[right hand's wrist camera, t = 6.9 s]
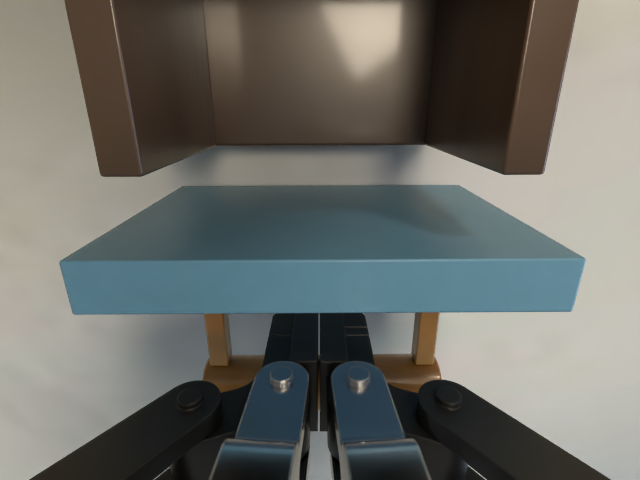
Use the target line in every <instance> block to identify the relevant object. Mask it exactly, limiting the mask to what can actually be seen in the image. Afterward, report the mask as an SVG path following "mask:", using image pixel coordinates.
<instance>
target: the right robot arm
mask: <svg viewBox="0 0 640 480" xmlns="http://www.w3.org/2000/svg"><path fill="white" fill-rule="evenodd" d="M310 431H318V313H276V314H275V315H274V316H273V319H272V324H271V328H270V333H269V337H268V342H267V347H266V351H265V356H264V361H263V365H262V368H261V369H260V370H259V371H258V372H257V374H256V376H255V378H254V380H253V381H251V382H250V383H249V384H247V385H245V386H243V387H240V388H237V389H234V390H229V391H225V392H221V393H220V390H219V388H218V387H217V386H216V385H215V384H213V383H211V382H208V381H199V380H198V381H191V382H187V383H183V384H181V385H179V386H177V387H175V388H173V389H172V390H170V391H169V392H167V393H165V394H164V395H162V396H161V397H159V398H158V399H156V400H154V401H153V402H151V403H150V404H148V405H147V406H145V407H143V408H142V409H140V410H139V411H137V412H135V413H134V414H132V415H131V416H129V417H128V418H126V419H124V420H123V421H121V422H120V423H118V424H116V425H115V426H113V427H112V428H110V429H109V430H107V431H105V432H104V433H102V434H101V435H99V436H98V437H96V438H94V439H93V440H91V441H90V442H88V443H86V444H85V445H83V446H82V447H80V448H79V449H77V450H75V451H74V452H72V453H71V454H69V455H67V456H66V457H64V458H63V459H61V460H60V461H58V462H56V463H55V464H53V465H52V466H50V467H49V468H47V469H45V470H44V471H42V472H41V473H39V474H37V475H36V476H34V477H33V478H31V479H30V480H153V479H154V478H156V477H157V476H158V475H159V474H161V473H162V472H163V471H164V470H166V469H167V468H168V467H169V466H170V468H169V469H168V470H166V471H165V472H164V473H163V474H161V475H160V476H159V477H158V478H156V479H155V480H308V473H309V464H310ZM320 431H327V436H328V448H329V451H330V464H331V473H332V480H485V479H484V478H486V479H487V480H610V479H609V478H607V477H606V476H604V475H603V474H601V473H599V472H598V471H596V470H595V469H593V468H591V467H590V466H588V465H587V464H585V463H584V462H582V461H580V460H579V459H577V458H576V457H574V456H572V455H571V454H569V453H568V452H566V451H565V450H563V449H561V448H560V447H558V446H557V445H555V444H554V443H552V442H550V441H549V440H547V439H546V438H544V437H542V436H541V435H539V434H538V433H536V432H535V431H533V430H531V429H530V428H528V427H527V426H525V425H524V424H522V423H520V422H519V421H517V420H516V419H514V418H512V417H511V416H509V415H508V414H506V413H505V412H503V411H501V410H500V409H498V408H497V407H495V406H493V405H492V404H490V403H489V402H487V401H486V400H484V399H482V398H481V397H479V396H478V395H476V394H475V393H473V392H471V391H470V390H468V389H467V388H465V387H463V386H461V385H460V384H457V383H455V382H452V381H447V380H432V381H428V382H426V383H424V384H423V385H422V386H421V387H420V389H419V391H418V393H415V392H411V391H407V390H403V389H400V388H397V387H395V386H392V385H391V384H389V383H387V381H386V378H385V376H384V374H383V372H382V371H381V370H380V369H379V368H377V367H376V366H375V362H374V358H373V353H372V348H371V343H370V338H369V333H368V328H367V324H366V319H365V316H364V315H363V314H362V313H320ZM468 465H469V466H471V467H472V468H473V469H474V470H476V471H477V472H478V473H479V474H481V475H482V476H483V477H484V478H482V477H481V476H480V475H479V474H477V473H476V472H475V471H474V470H472V469H471V468H470V467H469V466H468Z"/></svg>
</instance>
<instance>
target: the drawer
mask: <svg viewBox="0 0 640 480" xmlns="http://www.w3.org/2000/svg"><path fill="white" fill-rule="evenodd" d="M578 2H579V0H65V5H66V10H67V15H68V20H69V25H70V29H71V34H72V39H73V44H74V49H75V54H76V59H77V63H78V68H79V73H80V78H81V83H82V88H83V92H84V97H85V102H86V107H87V112H88V117H89V122H90V126H91V131H92V136H93V141H94V146H95V151H96V156H97V160H98V165H99V170H100V174H101V176H103V177H141V176H144V175H146V174H149V173H151V172H153V171H156V170H158V169H161V168H163V167H166V166H168V165H170V164H173V163H175V162H178V161H180V160H183V159H185V158H187V157H190V156H192V155H195V154H197V153H200V152H202V151H204V150H207V149H209V148H212V147H214V146H293V145H427V146H430V147H433V148H435V149H438V150H441V151H443V152H446V153H448V154H451V155H454V156H456V157H459V158H461V159H464V160H467V161H469V162H472V163H475V164H477V165H480V166H482V167H485V168H488V169H490V170H493V171H495V172H498V173H501V174H503V175H540V174H543V173H544V170H545V165H546V160H547V156H548V151H549V146H550V141H551V136H552V131H553V126H554V121H555V116H556V111H557V106H558V101H559V96H560V91H561V86H562V81H563V76H564V71H565V67H566V62H567V57H568V52H569V47H570V42H571V37H572V32H573V27H574V22H575V17H576V12H577V7H578ZM59 264H60V267H61V271H62V275H63V279H64V282H65V286H66V290H67V294H68V298H69V301H70V305H71V309H72V313H73V314H75V315H77V314H204V318H205V326H206V334H207V341H208V349H209V359H208V361H207V363H206V366H205V369H204V374H203V380H202V381H208V382H211V383H213V384H215V385H216V386H217V387H218V388H219V390H220V393H221V392H225V391H229V390H234V389H237V388H240V387H243V386H245V385H247V384H249V383H250V382H251V381H253V380H254V378H255V376H256V374H257V372H258V371H259V370H260V369H261V368H262V365H263V361H264V356H265V355H232V350H231V340H230V330H229V320H228V314H245V313H413V312H415V321H414V331H413V342H412V352H411V354H373V358H374V362H375V366H376V367H377V368H379V369H380V370H381V371H382V372H383V374H384V376H385V378H386V381H387V383H389V384H391V385H392V386H395V387H397V388H400V389H403V390H407V391H411V392H415V393H418V391H419V389H420V387H421V386H422V385H423V384H424V383H426V382H428V381H432V380H442V379H441V373H440V369H439V366H438V363H437V360H436V358H435V357H434V354H435V346H436V338H437V329H438V321H439V313H440V312H570V311H572V310H573V307H574V303H575V299H576V295H577V291H578V287H579V284H580V280H581V276H582V272H583V268H584V265H585V258H584V257H582V256H580V255H579V254H577V253H575V252H573V251H572V250H570V249H568V248H566V247H565V246H563V245H561V244H560V243H558V242H556V241H554V240H553V239H551V238H549V237H547V236H546V235H544V234H542V233H541V232H539V231H537V230H535V229H534V228H532V227H530V226H528V225H527V224H525V223H523V222H522V221H520V220H518V219H516V218H515V217H513V216H511V215H509V214H508V213H506V212H504V211H503V210H501V209H499V208H497V207H496V206H494V205H492V204H490V203H489V202H487V201H485V200H484V199H482V198H480V197H478V196H477V195H475V194H473V193H471V192H470V191H468V190H466V189H465V188H463V187H461V186H459V185H374V186H183V187H181V188H179V189H177V190H176V191H174V192H172V193H171V194H169V195H168V196H166V197H164V198H163V199H161V200H159V201H158V202H156V203H154V204H153V205H151V206H150V207H148V208H146V209H145V210H143V211H141V212H140V213H138V214H136V215H135V216H133V217H131V218H130V219H128V220H127V221H125V222H123V223H122V224H120V225H118V226H117V227H115V228H113V229H112V230H110V231H109V232H107V233H105V234H104V235H102V236H100V237H99V238H97V239H95V240H94V241H92V242H90V243H89V244H87V245H86V246H84V247H82V248H81V249H79V250H77V251H76V252H74V253H72V254H71V255H69V256H68V257H66V258H64V259H63V260H61V261H60V263H59ZM318 411H320V354H318Z"/></svg>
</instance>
